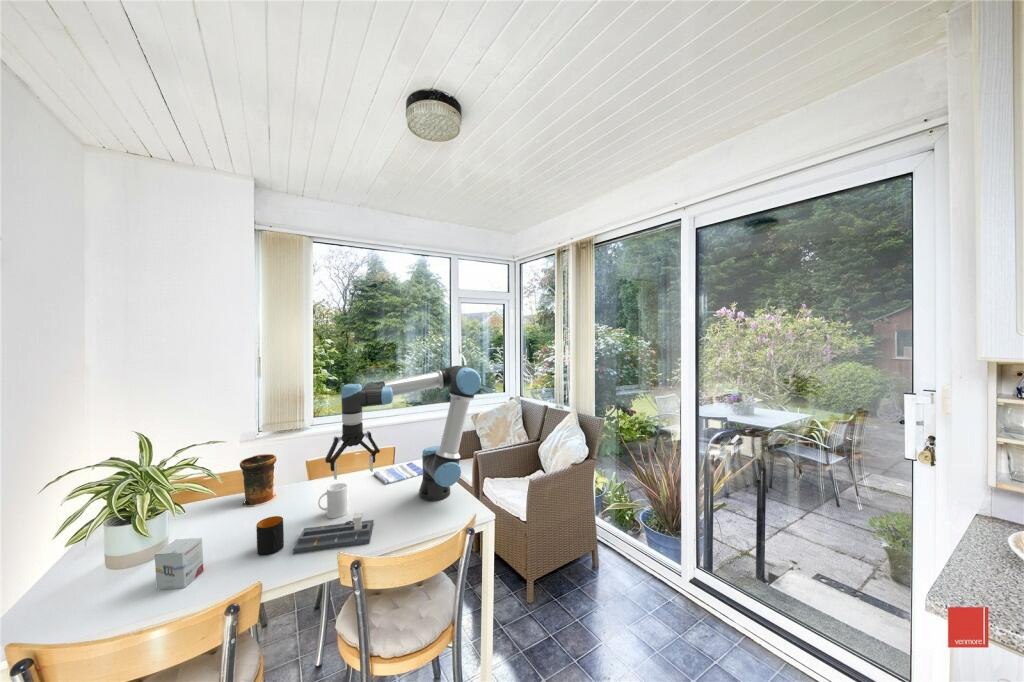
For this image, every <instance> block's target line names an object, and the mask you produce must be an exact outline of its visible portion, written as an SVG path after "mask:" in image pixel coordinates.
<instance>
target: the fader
mask: <svg viewBox="0 0 1024 682" xmlns="http://www.w3.org/2000/svg"><path fill="white" fill-rule="evenodd" d="M363 514H364V512H363V511H362V512H361V511H360V512H354V513H353V517H352V521H354V530H360V529H362V521H363V519H362V518H363Z"/></svg>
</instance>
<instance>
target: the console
mask: <svg viewBox="0 0 1024 682" xmlns="http://www.w3.org/2000/svg"><path fill="white" fill-rule="evenodd" d="M374 522H375V521H374V519H370V520H362V529H360V530H354V521H353V520H348V521H346V522H344V523H336V524H329V525H321V526H312V527H305V528H303V530H302V531H301V533H300V535H299V537H298V538H297V540H296V543H295V544H294V546H293V548H292V555H298V554H306V553H312V552H313V553H314V552H319V551H321V552H322V551H326V550H335V549H336V550H337V549H342V548H343V549H344V548H350V547H356V546H364V545H370V543H371V539H372V538H371V537H372V533H373V529H374V524H375V523H374Z"/></svg>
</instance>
